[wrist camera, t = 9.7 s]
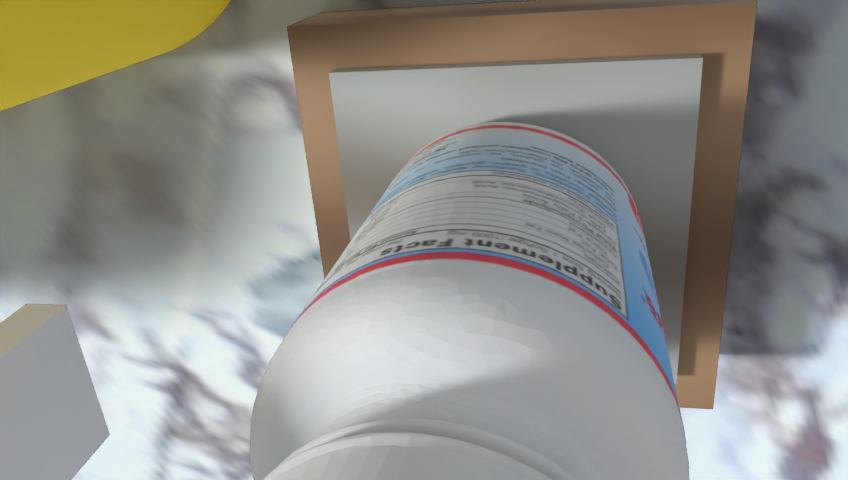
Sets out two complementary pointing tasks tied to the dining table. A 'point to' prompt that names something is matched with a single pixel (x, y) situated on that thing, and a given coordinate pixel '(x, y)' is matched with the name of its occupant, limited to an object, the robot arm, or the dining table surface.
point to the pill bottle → (481, 330)
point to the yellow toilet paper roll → (88, 39)
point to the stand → (548, 121)
